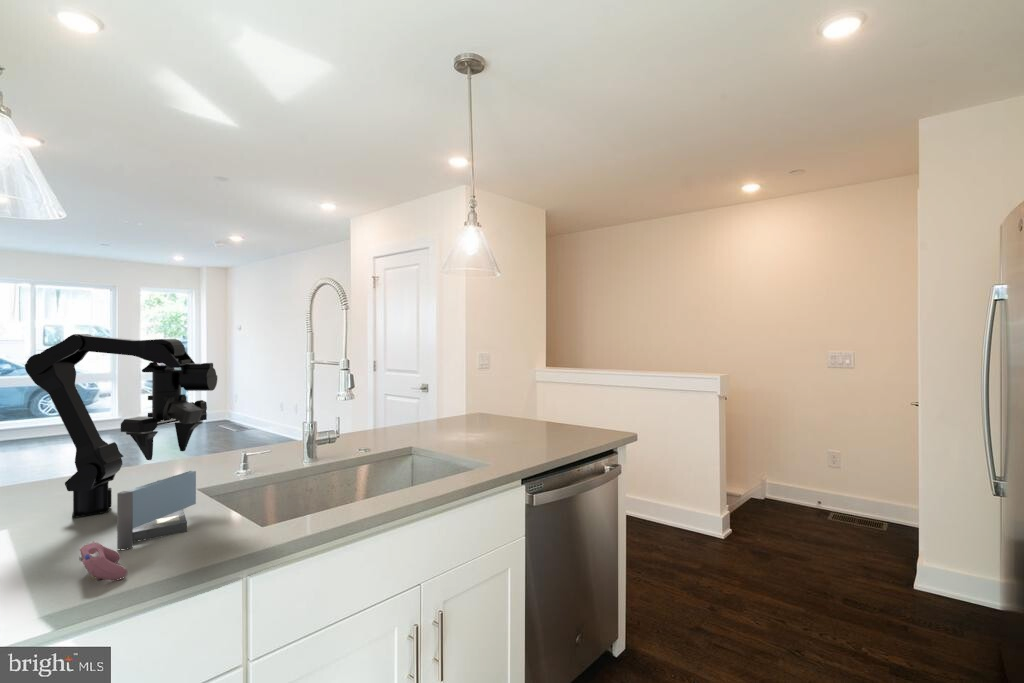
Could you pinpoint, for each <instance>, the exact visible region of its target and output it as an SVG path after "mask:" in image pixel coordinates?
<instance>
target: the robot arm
mask: <svg viewBox="0 0 1024 683" xmlns="http://www.w3.org/2000/svg"><path fill="white" fill-rule="evenodd" d="M89 352H90V353H102V354H110V355H111V354H113V355H122V356H132V357H137V358H140V359H141V360H144V361H148V362H149V363H148V365H146V366H145V367H144V368H143V369H141V372H142V373H151V374H152V382H151V384H152V386H151V387H152V388H151V389H152V390H151V391H152V393H151V394H150V395H147V401H151V408H152V409H151V410H152V411H151V412H148V413H147V417H146V416H143V417H142V416H137V417H131V418H124V419H123V421H122V420H121V423H120V432H121V433H125V434H126V435H127V436H128V435H129V436H130V437H131V438H132V440H134V442H135V443H136V445H137V446H138V448H139V449H140V452H141V453H142V455H143V456H144V458H145V459H146V461H152V460H153V454H154V437H155V436H156V435H157V434H158V433H159V431H156V428H158V426H161V425H167V424H171V423H172V424H173V423H174V426H175V432H176V438H177V444H178V448H179V451H180V452H185V451H186V449H187V448H188V444H189V442H190V439H191V437H192V434H193V432H194V430H195V429H196V428H197V427H198V426H200V425H202V424H203V421H207V419H208V418H207V416H208V412H207V410H208V406H207V401H206V400H204V399H203V400H202V399H200V400H196V401H194V402H193V401H191V402H189V401H187V396H186V394H185V393H184V394H183V393H182V388H183V389H184V390H185V391H187V392H188V391H189V392H192V391H193V392H195V391H196V392H199V391H200V392H202V391H204V392H205V391H207V392H208V391H209V392H212V391H214V390H215V389H216V387H217V384H218V374H217V371H216V369H215V368H214V362H204V363H195V361H194V360H193V358H191V356H190V355H189V354H188V353H187V351H186V348H185V345H184V344H183V342H182V341H181V340H179V339H176V338H162V339H161V338H159V339H158V338H155V339H142V340H141V339H132V338H131V339H129V338H119V337H110V336H99V335H92V334H89V333H77V334H76V333H73V334H71V335H70V336H67V338H65V339H63V340H62V341H60V342H58V343H56V344H54V345H53V346H50V347H48V348H45V349H44V350H43V351H41V352H40V353H37V354H35V353H34V354H33V355H31V356H30V357H29V358H28V359H27V361H26V362H25V364H24V369H25V372H26V374H27V375H28V376H29V378H30V379H31V380H32V381H33V382H34V384H35V385H37V386H38V387H40V389H42V390H44V392H46V393H47V394H48V395H49V397H50V399H51V401H52V404H53V405H54V407H55V409H56V411H57V413H58V415H59V417H60V419H61V421H62V423H63V425H64V427H65V430H66V431H67V433H68V434H69V437H70V439H71V441H72V443H73V445H74V447H75V458H74V465H75V469H76V472H75V473H74V474H73V475H72V476H71V477H69V478H68V479H67V480H66V481H65V482H64V485H65V488H66V490H67V492H72V501H73V502H72V508H73V509H72V514H71V518H80V517H86V516H93V515H98V514H104V513H105V514H106V513H108V512H109V510H110V508H111V507H112V504H113V503H112V500H113V499H112V498H113V495H112V494H113V492H112V487H109V482H112V481H113V480H114V479H115V476H116V474H117V473H119V471H120V470H121V468H122V466H123V459H122V458H124V455H123V454H122V453H121V451H120V450H119V446H118V444H117V443H116V442H115V441H114V442H111V443H108V442H106V441H105V440H103V439H102V437H101V435H100V434H99V431H98V429H97V427H96V426H95V423H94V421H93V419H92V417H91V415H90V413H89V411H88V409H87V407H86V405H85V403H84V401H83V399H82V397H81V395H80V393H79V392H78V391H79V390H78V389H77V387H76V379H77V370H76V365H77V364H78V363H79V362H81V361H82V360H83V359H84V358H85V357H86V355H87V354H88V353H89ZM92 514H93V515H92Z"/></svg>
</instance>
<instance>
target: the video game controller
mask: <svg viewBox="0 0 1024 683" xmlns="http://www.w3.org/2000/svg"><path fill="white" fill-rule="evenodd" d="M79 552H80V555H79V556H78V561H79V562H81V563H83V566H84V568H85V570H86V571H87V572H88V573H89V574H90V576H91V577H92V579H94V578H96V579H97V581H100V580H101V579H103V580H107V581H113V580H116V581H118V580H117V579H120V578H123V577H124V578H126V576H127V573H128V571H127V569H126V568H125V567H124V566H122V564H121V565H120V564H117V563H118V562H119V561H120V559H121V556H120V554H119V552H117V551H115V550H114V549H111V548H108V547H105V546H104V545H103V544H101V543H99V542H95V540H93V541H92V542H91V543H86V544H84V545H83V546H81V547H80V548H79ZM115 562H117V563H115ZM124 578H123V579H124ZM99 579H100V580H99Z"/></svg>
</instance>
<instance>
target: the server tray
mask: <svg viewBox="0 0 1024 683" xmlns="http://www.w3.org/2000/svg"><path fill="white" fill-rule="evenodd" d="M184 510H185V509H182V510H179V511H177V512H174V513H171V514H169V515H166V516H164V517H161V518H159V519H156V520H154V521H151V522H149V523H146V524H143V525H141V526H138V527H136V528H133V541H136V542H139V541H138V540H141V541H145V540H144V539H146V540H150V538H151V539H157V538H162V537H166V536H167V537H168V536H170V535H171V536H172V535H176V534H181V533H187V532H188V520H187V517H186V514H185V511H184ZM161 536H162V537H161ZM156 537H157V538H156Z"/></svg>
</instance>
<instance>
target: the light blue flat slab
mask: <svg viewBox="0 0 1024 683" xmlns="http://www.w3.org/2000/svg"><path fill="white" fill-rule="evenodd" d="M116 499H117V500H116V501H117V504H116V505H117V506H116V507H117V508H116V510H117V515H116V516H117V517H116V518H117V519H116V521H117V522H116V523H117V524H116V525H117V526H116V527H117V531H116V532H117V537H116V540H117V541H116V548H117V549H120V550H119V551H122V550H121V549H126V550H128V549H127V548H130V547H132V546H134V544H133V543H134V542H133V528H136V527H138V526H141V525H143V524H146V523H149V522H151V521H154V520H156V519H159V518H161V517H164V516H166V515H169V514H171V513H174V512H177V511H179V510H182V509H183V510H185V509H186V508H189V507H191V506H194V505H196V504H197V470H195V471H194V470H189V471H188V470H187V471H186V472H182V473H179V474H176V475H173V476H168V477H166V478H163V479H159V480H157V481H153V482H150V483H147V484H144V485H140V486H138V487H134V488H131V489H127V490H122V491H119V492H117V494H116ZM132 548H133V547H132ZM130 549H131V548H130Z"/></svg>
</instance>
